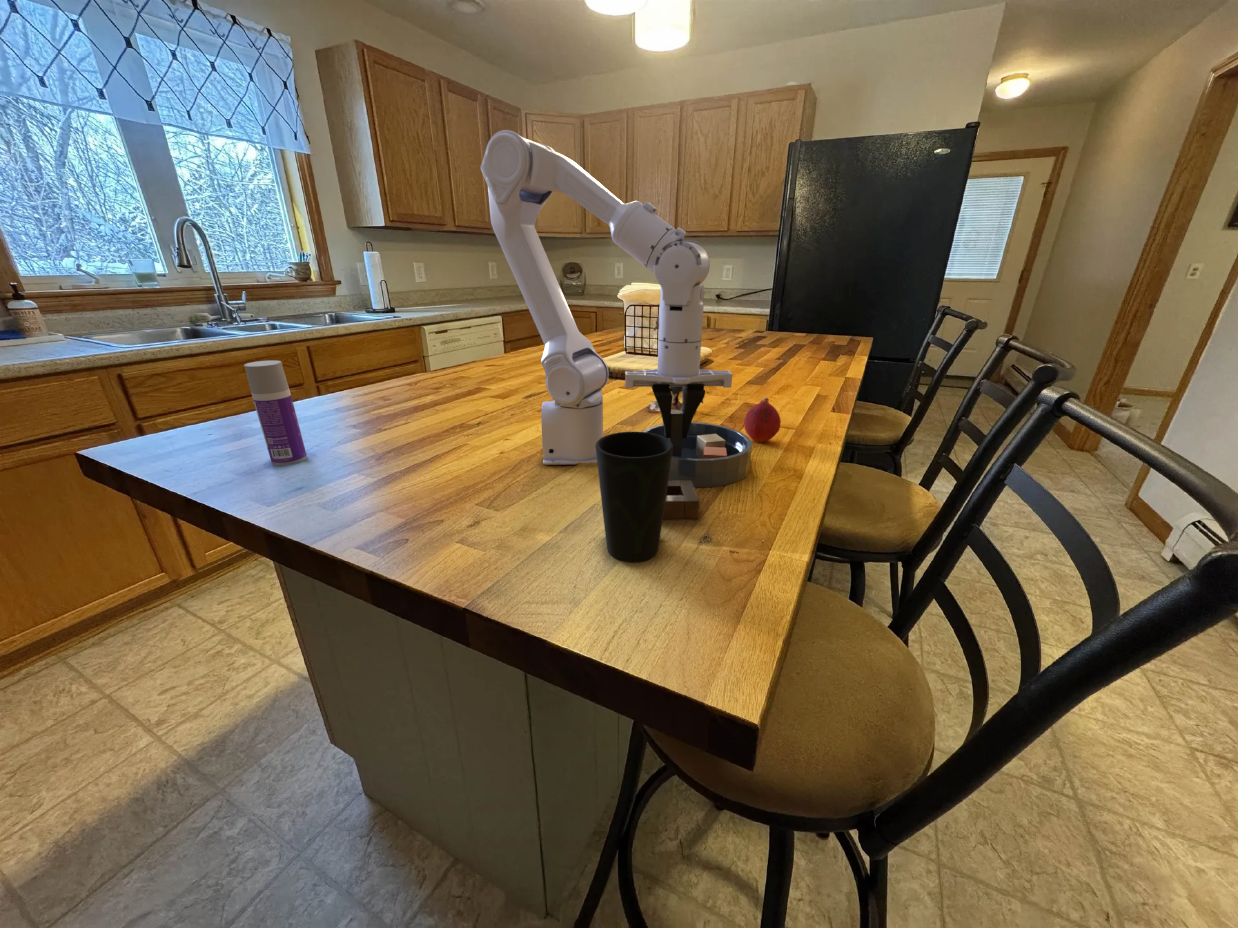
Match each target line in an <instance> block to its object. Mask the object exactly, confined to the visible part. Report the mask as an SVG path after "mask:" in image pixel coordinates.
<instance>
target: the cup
mask: <svg viewBox="0 0 1238 928" xmlns="http://www.w3.org/2000/svg"><path fill="white" fill-rule="evenodd" d="M595 448H596V456H597V462H596V464H597V473H598V480H599V482H598V483H599V489H600V500H601V507H602V517H603V525H604V526H603V527H604V535H605V542H606V550H607V553H608V554H609V556H610V557H612V558H614V559H615V560H618V561H621V562H625V563H641V562H645V561H649V560H651V559H653V558H654V557H655V556H656V555H657V554H658V552H659V549H660V540H661V534H662V528H663V521H664V520H663V514H664V507H665V500H666V493H667V486H668V479H669V472H670V465H671V458H672V452H673V444H672V443H671V441H670V440H668V439H667V438H665V437H663V436H660V435H657V434H653V433H647V432H643V431H620V432H615V433H614V432H613V433H609V434H606V435H603V437H602V438H600V439H599V440H598V441H597V442H596V445H595Z"/></svg>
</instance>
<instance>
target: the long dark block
mask: <svg viewBox="0 0 1238 928" xmlns="http://www.w3.org/2000/svg"><path fill="white" fill-rule="evenodd" d="M683 421H684V413H683V411H682V410H671V438H668V440H670V441H671V443H672V444H673V452H672V456H677V457H682V439H683V438H682V431H683Z"/></svg>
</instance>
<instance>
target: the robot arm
mask: <svg viewBox="0 0 1238 928" xmlns="http://www.w3.org/2000/svg"><path fill="white" fill-rule="evenodd" d="M480 171H481V172H482V173H481V174H482V176H483V178H484V180H485V183H486V185H487V192H488V193H487V194H488V203H489V215H490V217H489V218H490V224H491V227H492V230H493V232H494V235H495V237H496V239H497V242H498V243H499V246H500V248H501V250H502V253H503V254H504V256H505V259H506V261H507V264H508V265H509V268H510V270H511V273H512V275H513V277H514V279H515V282H516V284H517V286H518V288H519V291H520V293H521V295H522V297H523V300H524V302H525V304H526V306H527V308H528V311H529V313H530V316H531V317H532V320H533V322H534V324H535V327H536V329H537V332H538V333H539V335H540V337H541V340H542V342H543V345H544V349H543V353H542V356H541V360H540V363H541V365H542V368H543V370H544V371H543V372H544V374H545V387H546V390H547V392H548V393H547V394H549V396H550V397H551V399H552V400H550V401H543V402H542V404H541V412H540V418H541V419H540V421H541V422H540V423H541V425H540V426H541V446H542V455H543V460H542V464H543V465H545V466H546V465H547V466H549V465H550V466H551V465H553V466H554V465H557V466H558V465H559V466H560V465H564V466H565V465H578V464H579V463H597V456H596V448H595V445H596V442H597V441H598V440H599V439H600V438H602V437H604V397H603V394H602V390H603V388H605V387H606V385H607V383H608V381H609V375H610V372H609V366H608V364H607V362H606V361H605V359H604V358H603V357H602V356H601V355H600V354H599V353H598V352H597V350H596V349H595V348H594V346H593V343H592V342H591V340H589V338H587V337H586V336H585V335H584V334H582V332H581V331H579V329H578V326H577V324H576V322H575V321H576V320H575V318H574V316H573V315H572V312H571V310H570V307H569V304H568V303H567V300H566V298H565V295H564V293H563V291H562V288H561V285H560V283H559V282H558V280H557V276H556V274H555V272H554V270H553V267H552V265H551V262H550V260H549V257H548V256H547V253H546V251H545V247H544V246H543V245H542V241H541V239H540V237H539V234H538V232H537V229H536V227H535V226H536V225H535V224H536V221H537V219H538V216H539V214H540V212H541V210H542V209H543V208H544V207H545V205H546V203H547V202H548V201H549V199H550V197H551V196H552V195H553V194H554V193H558V194H564V195H565V196H567V197H568V198H570V199H571V200H572V201H574V202H575V203H577V204H578V205H579V206H581V207H582V208H584V209H585V210H586V211H588V212H589V213H590V214H592V215H593V216H595V217H596V218H598V219H599V220H601V222H603V223H605V224H606V225H608V227H609V231H610V235H611V239H612V242H613V243H614V245H616V246H618V247H619V248H620V249H622V250H623V252H625V253H626V254H628V255H629V256H630V257H632V258H633V259H634V260H636V261H637V262H638V263H639V264H641V265H642V266H643V267H644V268H646V269H647V270H648V271H650V272H653V273H654V277H655V280H656V281H657V283H658V284H659V286H660V293H659V294H660V297H659V298H660V299H659V310H658V312H659V313H658V317H659V328H658V340H657V341H658V343H657V368H655V369H645V370H644V369H642V370H625V371H624V376H625V377H624V386H625V389H634V388H644V387H645V388H651V390H652V393H653V396H654V398H655V401H657V403H658V405H659V408H660V411H659V412H660V414H661V419H662V424H663V425H664V435H665V438H671V405H672V392H671V389H670V387H682V392H681V394H682V396H681V397H682V399H681V400H682V401H681V403H682V411H683V413H684V421H683V431H682V438H687V435H688V431H689V427H690V424H691V422H693V419H694V417H695V414H696V412H697V410H698V409H699V407H700V405H701V404H702V403H701V402H702V400H703V401H704V398H705V396H706V390H705V387H722V388H724V389H725V388H727V389H729V388H730V389H731V388H732V382H733V373H732V372H731V371H730V370H714V369H700V366H701V354H702V353H701V352H702V338H703V337H702V335H703V322H704V321H703V320H704V295H705V292H704V291H705V290H704V289H705V284H704V283H703V282H704V281H705V280H706V279H707V277H708V275H709V273H710V268H711V267H710V266H711V262H710V257H709V254H708V253H707V251H706V250H705V249H704V248H703V247H702V245H701V243H700V242H698V241H696V240H685V236H686V235H687V232H686V231H685V230H684V229H683V228H681V227H677V228H675V227H673V225H671V224H670V223H668V222H667V221H665V220H664V219H663V218H662V217H661V216H659V215H658V214H656V212H657V210H658V208H657V207H656V206H655V205H654V204H652V203H651V202H649V201H645V202H644V204H643V202H641V201H639V200H634V201H631V202H627V203H625V202H623V201H622V200H620V199H619V198H618V197H617V196H616V195H615V194H613V193H612V192H611V191H610V190H609V189H608V188H606V187H605V185H603V184H601V183H600V182H599V181H598V180H597V179H596V178H594V177H593V176H592V175H591V174H590V173H589V172H588V171H586V170H585V169H583V167H581V166H580V165H579V164H578V163H577V162H575V161H574V160H572V159H571V158H569V157H567V156H566V155H564V154H562V153H560V152H557V151H555V150H554V149H553V147H551V146H549V145H547V144H543V143H538V142H535V141H533V140H531V139H528V138H526V137H524V136H521V135H520V134H518V133H517V132H515V131H513V130H510V129H503V130H499V131H497V132H495V133H494V134H493V135H492V136H491V137H490V139H489V140H488V143H487V145H486V148H485V151H484V155H483V158H482V162H481V164H480Z"/></svg>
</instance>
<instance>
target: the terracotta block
mask: <svg viewBox="0 0 1238 928" xmlns="http://www.w3.org/2000/svg"><path fill="white" fill-rule="evenodd" d="M721 457H727V451H726V448H721V447H704V448H703V459H712V458H721Z"/></svg>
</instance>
